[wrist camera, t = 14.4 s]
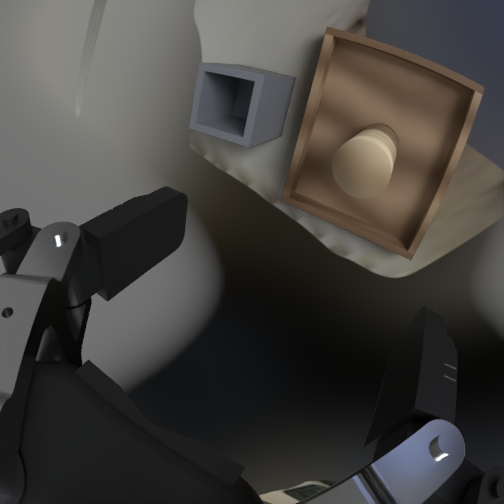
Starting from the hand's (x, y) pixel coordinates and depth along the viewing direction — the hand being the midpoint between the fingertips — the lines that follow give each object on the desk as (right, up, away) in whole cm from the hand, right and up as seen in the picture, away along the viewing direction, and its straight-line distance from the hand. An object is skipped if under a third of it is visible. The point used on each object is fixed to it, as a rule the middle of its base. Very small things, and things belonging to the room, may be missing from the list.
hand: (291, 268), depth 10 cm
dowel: (+12, +12, +20) cm, 26 cm away
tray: (+12, +12, +21) cm, 27 cm away
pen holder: (0, +18, +25) cm, 31 cm away
